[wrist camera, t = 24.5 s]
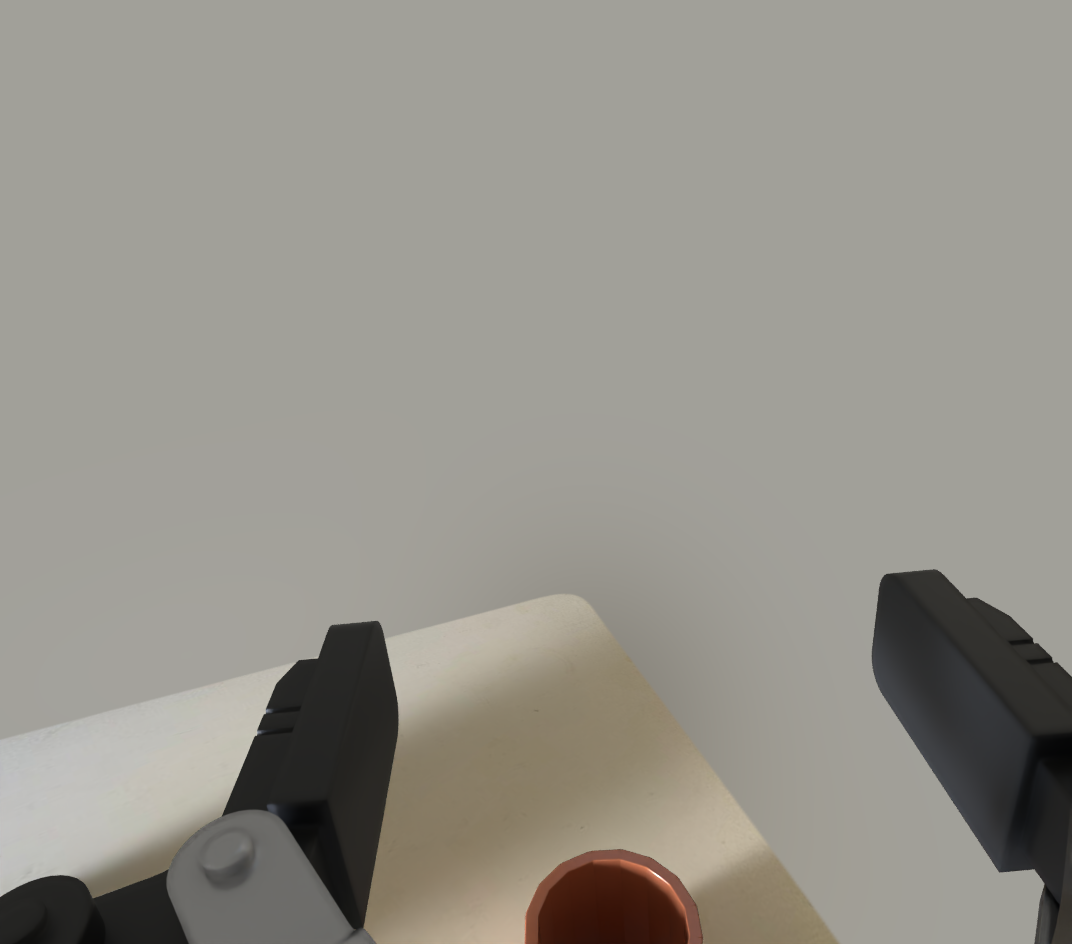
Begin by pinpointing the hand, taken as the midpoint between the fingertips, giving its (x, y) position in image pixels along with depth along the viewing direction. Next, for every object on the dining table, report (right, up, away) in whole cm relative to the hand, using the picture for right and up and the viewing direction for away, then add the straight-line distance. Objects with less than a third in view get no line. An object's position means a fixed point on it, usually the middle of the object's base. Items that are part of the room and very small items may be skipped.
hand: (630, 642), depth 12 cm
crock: (+2, -24, +25) cm, 34 cm away
